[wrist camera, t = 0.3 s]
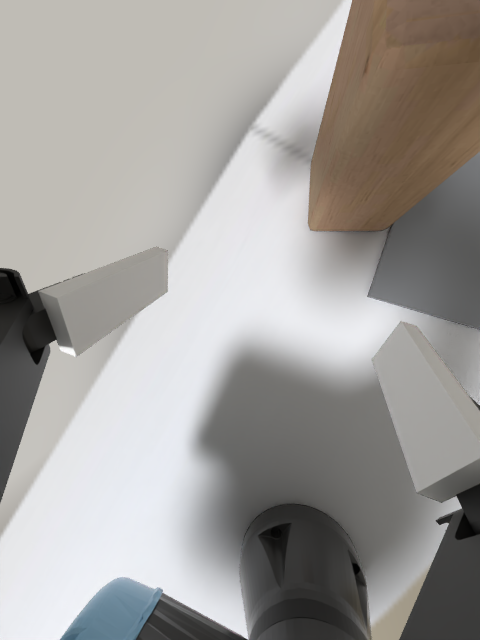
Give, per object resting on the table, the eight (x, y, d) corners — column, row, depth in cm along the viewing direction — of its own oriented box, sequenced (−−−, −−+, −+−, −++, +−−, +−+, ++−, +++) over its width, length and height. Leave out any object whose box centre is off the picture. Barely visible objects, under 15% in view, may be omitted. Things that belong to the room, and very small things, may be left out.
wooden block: (306, 234, 29) (380, 46, 10) (309, 162, 30) (390, -166, 10) (385, 233, 28) (660, 15, 8) (388, 158, 28) (665, -232, 8)
